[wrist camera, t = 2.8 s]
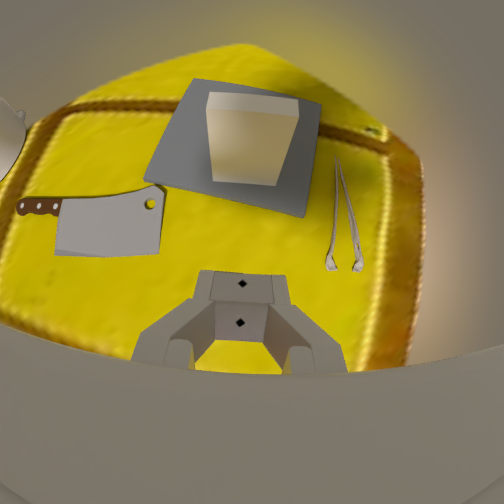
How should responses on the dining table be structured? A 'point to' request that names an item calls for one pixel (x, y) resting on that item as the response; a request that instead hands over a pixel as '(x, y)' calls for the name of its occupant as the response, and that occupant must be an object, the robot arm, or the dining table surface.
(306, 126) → the mat
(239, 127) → the tile
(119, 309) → the dining table surface
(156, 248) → the kitchen cleaver
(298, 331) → the robot arm
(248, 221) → the dining table surface
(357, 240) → the tweezers
